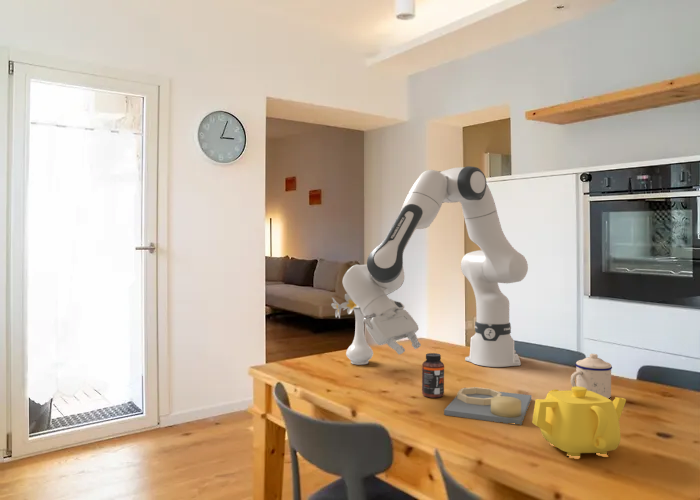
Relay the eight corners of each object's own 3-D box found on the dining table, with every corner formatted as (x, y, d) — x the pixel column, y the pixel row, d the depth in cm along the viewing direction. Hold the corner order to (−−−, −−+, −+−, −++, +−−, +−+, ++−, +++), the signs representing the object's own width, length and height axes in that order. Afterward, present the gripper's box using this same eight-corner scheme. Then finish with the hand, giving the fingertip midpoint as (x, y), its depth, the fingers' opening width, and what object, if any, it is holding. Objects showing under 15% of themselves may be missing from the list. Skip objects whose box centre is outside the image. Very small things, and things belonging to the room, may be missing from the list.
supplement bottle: (443, 399, 145) (443, 357, 145) (421, 397, 146) (421, 356, 146) (444, 393, 151) (444, 352, 150) (422, 391, 152) (422, 351, 152)
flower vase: (326, 362, 188) (326, 290, 187) (370, 357, 197) (371, 288, 197) (344, 370, 177) (344, 294, 176) (391, 364, 186) (391, 291, 186)
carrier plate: (464, 391, 152) (464, 376, 152) (531, 399, 144) (531, 384, 144) (444, 414, 132) (444, 397, 132) (521, 425, 124) (521, 407, 124)
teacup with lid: (593, 390, 153) (594, 349, 153) (619, 399, 144) (620, 356, 144) (559, 395, 149) (559, 352, 149) (584, 404, 140) (584, 359, 140)
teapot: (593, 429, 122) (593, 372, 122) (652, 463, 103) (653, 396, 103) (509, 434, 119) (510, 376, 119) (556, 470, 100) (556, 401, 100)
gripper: (368, 309, 148) (399, 348, 142) (404, 302, 164) (433, 337, 159) (354, 323, 150) (384, 363, 145) (391, 315, 167) (419, 351, 162)
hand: (410, 349), depth 152 cm, fingers open, 8 cm apart
